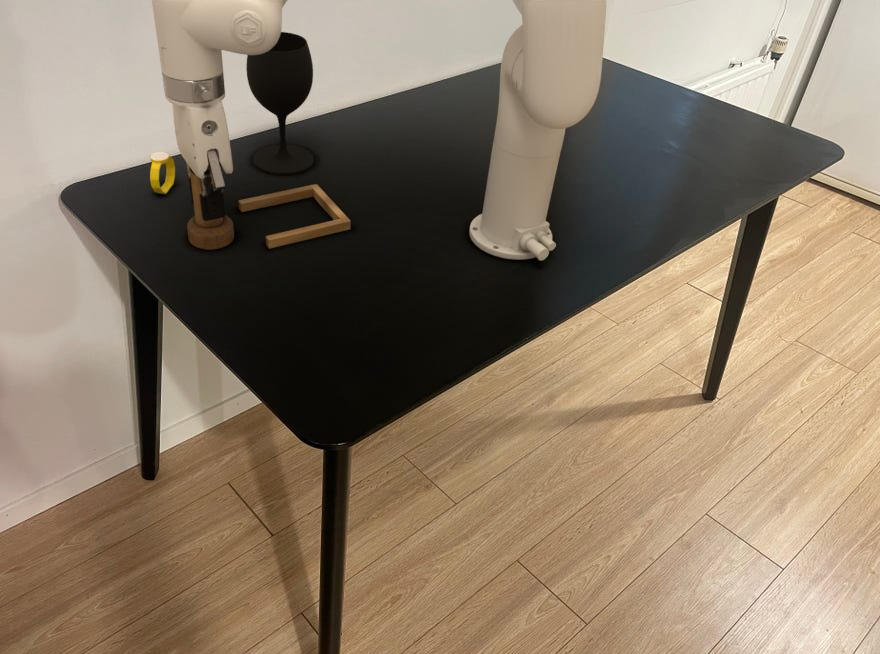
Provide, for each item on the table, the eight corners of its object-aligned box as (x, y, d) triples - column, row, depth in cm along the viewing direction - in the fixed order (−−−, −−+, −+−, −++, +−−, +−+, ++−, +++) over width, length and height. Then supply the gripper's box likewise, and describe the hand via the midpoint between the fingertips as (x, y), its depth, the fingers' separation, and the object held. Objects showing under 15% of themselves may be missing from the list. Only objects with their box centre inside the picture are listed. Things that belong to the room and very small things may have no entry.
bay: (350, 229, 118) (350, 220, 117) (269, 249, 113) (268, 240, 112) (316, 192, 126) (316, 183, 125) (238, 208, 120) (238, 200, 119)
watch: (165, 179, 125) (159, 145, 122) (181, 182, 125) (176, 148, 121) (148, 197, 121) (142, 162, 117) (165, 200, 121) (160, 165, 117)
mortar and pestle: (224, 253, 111) (211, 134, 99) (181, 245, 112) (164, 127, 100) (240, 229, 116) (231, 114, 104) (199, 222, 117) (185, 107, 105)
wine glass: (288, 141, 138) (284, 25, 125) (326, 163, 133) (326, 44, 120) (240, 157, 133) (230, 38, 119) (277, 181, 127) (272, 59, 114)
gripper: (246, 105, 95) (255, 233, 107) (201, 57, 105) (214, 178, 118) (186, 115, 92) (202, 245, 104) (145, 64, 102) (164, 188, 115)
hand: (208, 209), depth 111 cm, fingers closed on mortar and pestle, 3 cm apart
